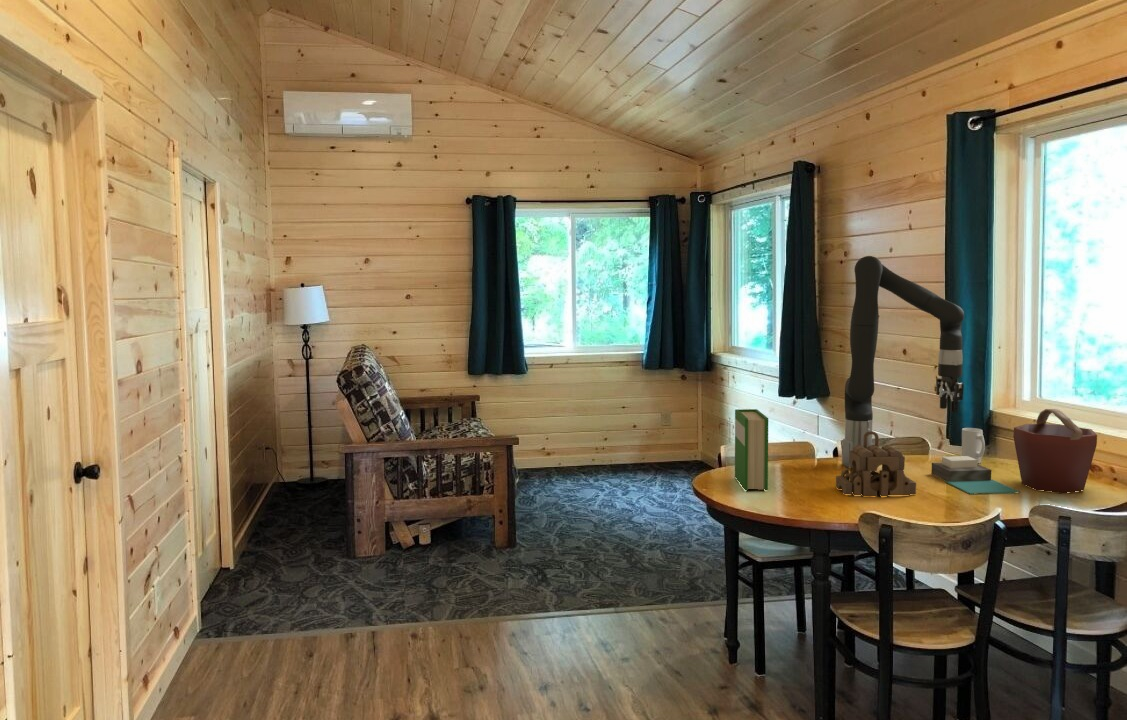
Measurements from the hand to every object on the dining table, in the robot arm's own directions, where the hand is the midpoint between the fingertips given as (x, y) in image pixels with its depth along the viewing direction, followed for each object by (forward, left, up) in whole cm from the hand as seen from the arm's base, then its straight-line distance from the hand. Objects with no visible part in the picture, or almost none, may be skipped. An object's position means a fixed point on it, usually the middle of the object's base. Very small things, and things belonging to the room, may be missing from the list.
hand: (948, 410), depth 277 cm
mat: (0, -22, -22) cm, 31 cm away
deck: (0, -9, -22) cm, 23 cm away
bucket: (+22, -23, -22) cm, 39 cm away
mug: (+16, +11, -22) cm, 29 cm away
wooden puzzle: (-35, -22, -22) cm, 47 cm away
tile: (0, -8, -16) cm, 18 cm away
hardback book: (-72, -10, -22) cm, 76 cm away
